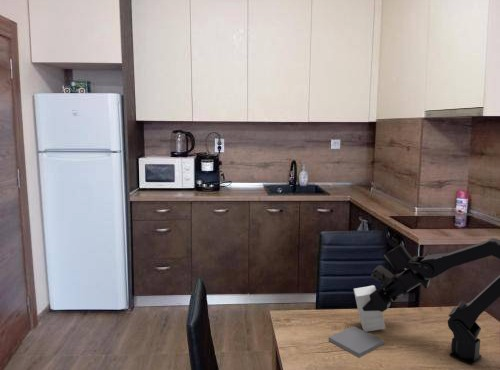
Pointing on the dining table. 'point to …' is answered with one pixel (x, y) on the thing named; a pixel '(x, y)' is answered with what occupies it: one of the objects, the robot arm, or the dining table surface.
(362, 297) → the supplement box
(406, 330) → the dining table surface
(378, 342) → the tile
